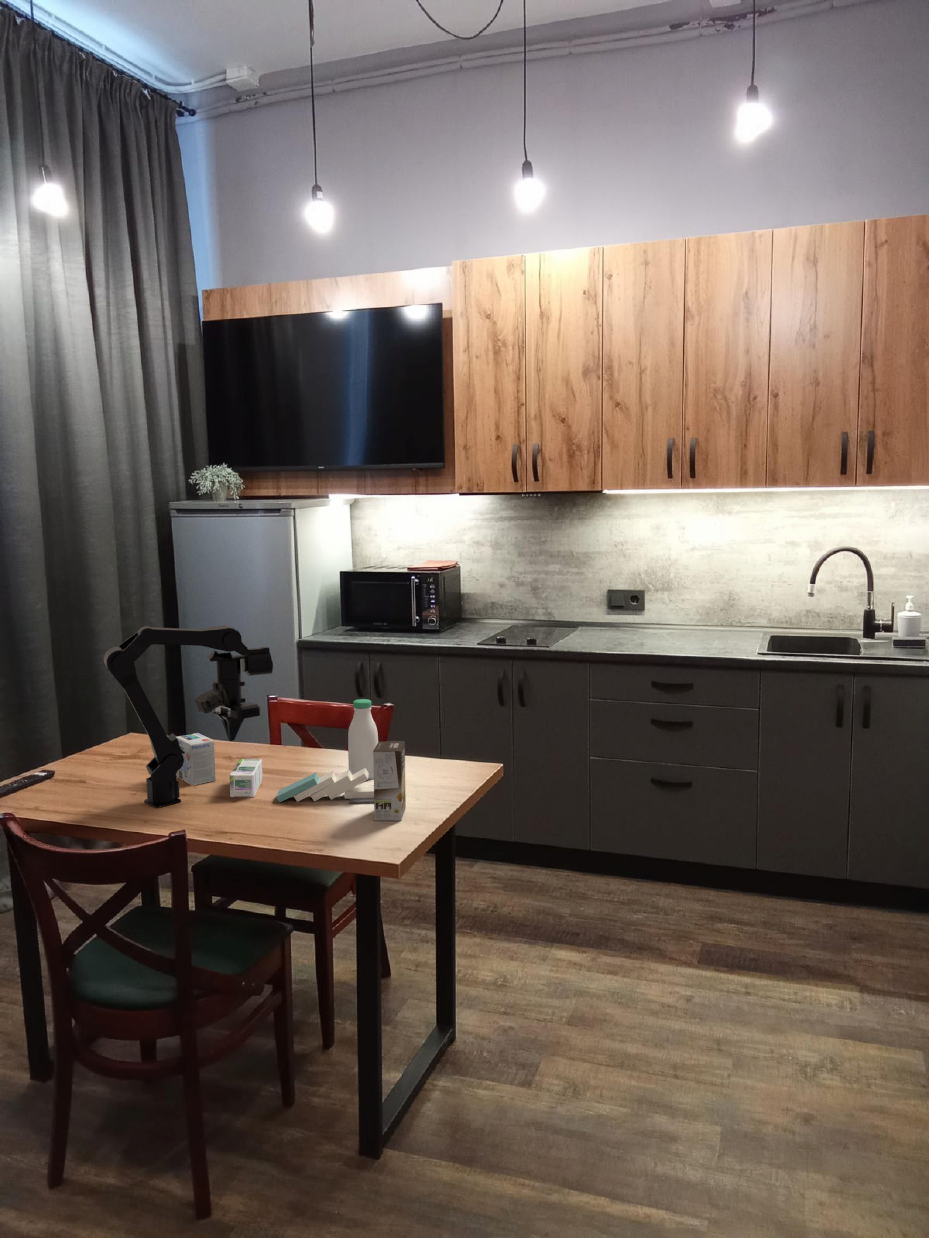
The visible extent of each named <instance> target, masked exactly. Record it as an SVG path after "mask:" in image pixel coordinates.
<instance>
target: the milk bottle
mask: <svg viewBox="0 0 929 1238" xmlns="http://www.w3.org/2000/svg"><path fill="white" fill-rule="evenodd" d="M352 706H353V710H354V712H353V716H352V717H353V718H352V720H351V722H350V724H349V727H348V735H347V736H348V737H347V745H348V750H347V751H348V752H347V753H348V754H347V755H348V770H350V772H351V774H352V775H353V774H355V773H357V772H359V771H360V770H362V769H364V768H366V770H367V771H368V773H369V774H368V779H367V780H372V779H373V780H374V759H373V750H374V749H375V747H376V745H377V743H378V742H379V736H378V735H379V734H378V729H377V724H376V722H375V720H374V719H373V716H372V712H371V710H372V700H370V699H366V698H360V699H355V700H354V701H353V704H352ZM367 780H366V781H367Z"/></svg>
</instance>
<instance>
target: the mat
mask: <svg viewBox="0 0 929 1238" xmlns="http://www.w3.org/2000/svg"><path fill="white" fill-rule="evenodd" d="M354 804H355V805H356V804H361V805H362V804H374V798H349V805H354Z"/></svg>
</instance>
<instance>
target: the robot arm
mask: <svg viewBox="0 0 929 1238" xmlns="http://www.w3.org/2000/svg"><path fill="white" fill-rule="evenodd" d="M152 645H163V646H167V645H168V646H169V645H170V646H199V647H201V646H202V647H205V648H206V647H207V648H208V649H209V648H210V649H212V652H211V653H210V654H208V656H207V660H208V661H209V662H215V665H216V666H215V671H216V681H213V683H212V689H210V690H208V691H206V692H203V693H202V694H200V695H198V696H197V697H195V698H194V699H193V701H194V703H195V705H196V708H197V711H198V712H202V713H203V714H210V713H211V712H212V714H213V716H214V715H215V716H216V717H217V718H218V719H220V721H221V723H222V726H223V728H224V731H225V734H226V737H227V739H228V741H230V742H234V741H235V739H236V737H237V735H238V732H239V730H240V728H241V726H242V724H243V722H244V720H245V719H250V718H254V717H260V716H261V706H260V705H259V704H257V703H253V702H251V701H248V702H246V697H243V695H242V694H243V693H242V687H244V686H246V683H245V681H243V680H242V674H241V673H242V672H243V673H245V674H246V675H247V676H248V677H253V676H264V675H272V674H273V669H274V662H273V660H272V653H271V652H270V649H271V648H270V647H269V646H261V647H254V648H248V646H247V645H245V644H244V642H243V641H242V634H241V633H240V631H239V630H237V628H234V627H232V626H230V625H228V624H224V625H216V626H215V625H214V626H209V627H205V628H179V627H178V628H175V627H174V628H171V627H151V626H147V625H146V626H142V627H140V628H139V629H138V630H137V631H136V632H134V634H132V635H131V636H129V637H128V638H127V639H126V640H124V641H123V642H121V643H120V644H119V645H118V646H113V647H110V648H108V650H106V652H105V654H104V656H103V662H104V665H105V667H106V668H107V669H108V671H109V672H110V673H111V675H112V676H113V677H114V678H115V680H116V681H117V682H118V683H119V685H120V686H121V687H122V689H123V690H124V692H125V694H126V696H127V698H128V699H129V701H130V704H131V705H132V707H133V709H134V711H135V713H136V714H137V717H138V718H139V720H140V722H141V724H142V726H143V728H144V730H145V732H146V734H147V736H148V738H149V742H150V745H151V749H152V753H153V756H154V757H153V758H152V759H151V760H150V761H149V762H148V763H147V764H145V765H146V766H145V768H146V770H147V773H148V774H149V777H147V778H146V779H145V781H146V782H145V783H146V796H147V797H146V799H144V801H143V802H144V803H145V804H147V805H148V806H152V807H154V808H161V807H164V806H165V807H166V806H170V805H173V804H179V803H181V802H182V799H181V798H180V796H181V795H180V781H179V780H178V777H177V775H176V774H177V771H178V770H180V769H181V767H182V766H183V763H184V757H183V755H182V754H185V752H184V751H183V749H182V748H181V747H180V745H179V742H178V739H177V738H176V737H177V736H176V735H175V734H174V733H171V734H169V735H168V734H167V732H166V731H165V730H164V728H163V726H162V724H161V721H160V720H159V718H158V716H157V714H156V713H155V710H154V709H153V707H152V705H151V702H150V701H149V699H148V697H147V694H146V693H145V691H144V689H143V687H142V685H141V683H140V681H139V677H138V676H139V675H138V672H137V669H136V666H135V665H136V664H135V662H136V661H137V660H138V659H139V658H140V657H141V656H142V655H143V654H144V653H145V652H146V650H148V649H149V648H150V646H152ZM213 649H214V650H213ZM217 650H218V651H222V652H218V651H217ZM232 652H236V653H238V654H236V655H233V654H232ZM214 709H215V711H214Z"/></svg>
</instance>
